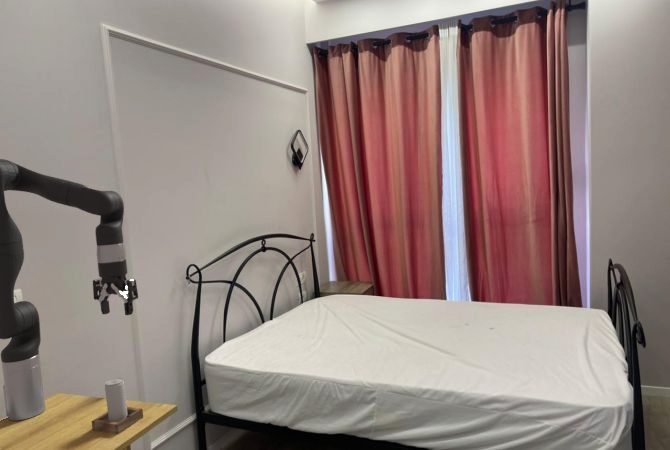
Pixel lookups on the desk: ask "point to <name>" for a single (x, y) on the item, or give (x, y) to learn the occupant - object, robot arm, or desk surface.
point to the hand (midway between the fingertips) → (117, 314)
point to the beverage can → (116, 399)
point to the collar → (117, 427)
